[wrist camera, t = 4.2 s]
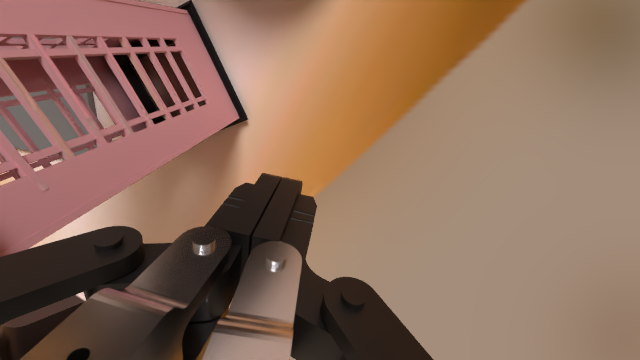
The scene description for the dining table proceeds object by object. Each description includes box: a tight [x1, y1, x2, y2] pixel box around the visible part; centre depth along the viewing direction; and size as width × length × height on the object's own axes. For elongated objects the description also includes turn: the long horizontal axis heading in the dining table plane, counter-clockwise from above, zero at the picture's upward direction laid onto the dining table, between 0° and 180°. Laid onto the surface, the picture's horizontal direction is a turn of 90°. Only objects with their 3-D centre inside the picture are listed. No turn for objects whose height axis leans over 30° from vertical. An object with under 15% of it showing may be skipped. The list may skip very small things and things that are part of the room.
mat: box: [0, 37, 98, 156], centre depth 23 cm, size 12×18×1 cm, turn 169°
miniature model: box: [0, 0, 248, 257], centre depth 14 cm, size 9×9×20 cm
